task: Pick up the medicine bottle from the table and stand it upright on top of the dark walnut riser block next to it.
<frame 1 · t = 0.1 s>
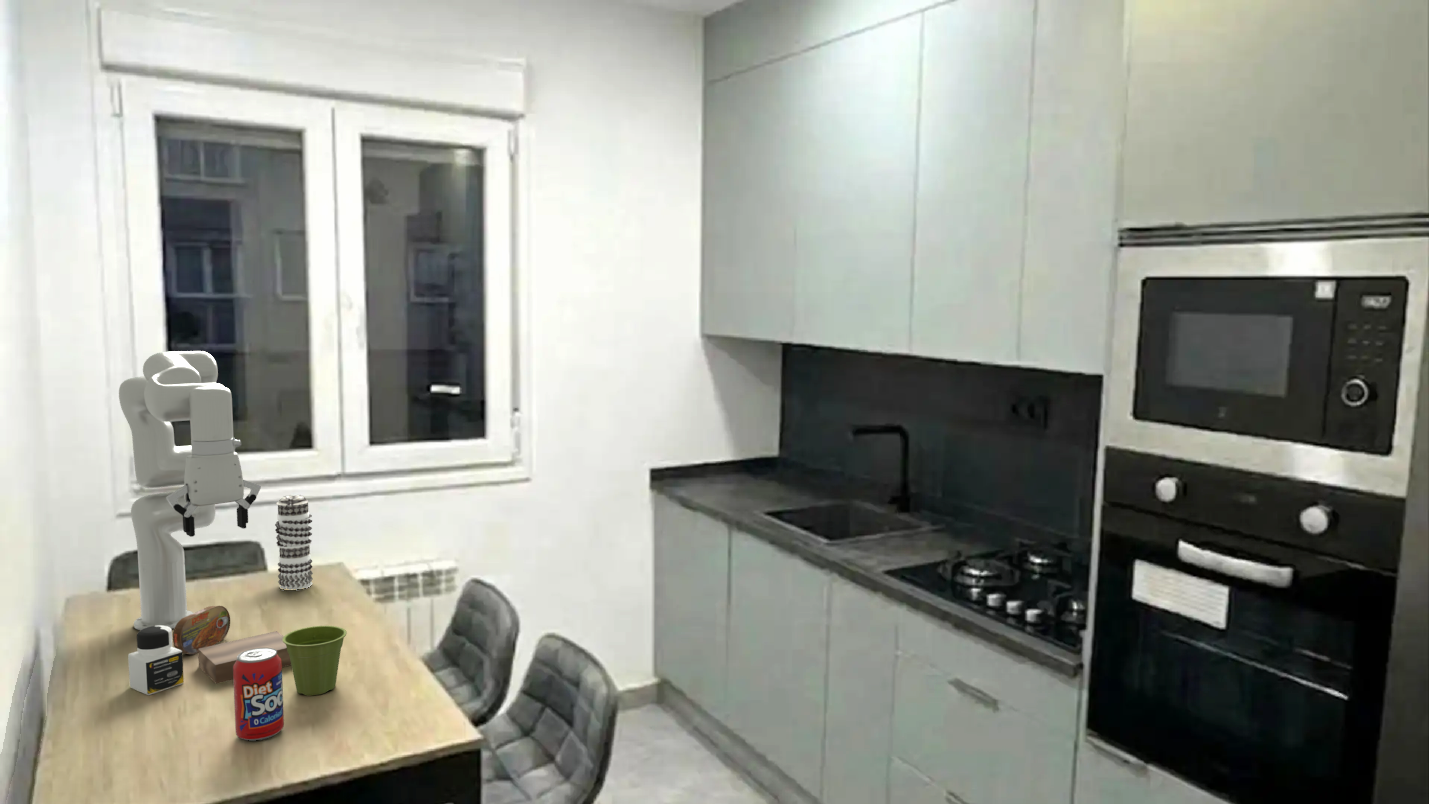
hand: (216, 531, 187), 31 cm above the table, tool pointing down, fingers open, 9 cm apart
tin: (202, 648, 208), on the table
plant pot: (316, 689, 186), on the table
medicine bottle: (157, 686, 187), on the table
soda can: (260, 735, 167), on the table
decorative candle: (296, 586, 253), on the table
walnut riser: (248, 665, 198), on the table
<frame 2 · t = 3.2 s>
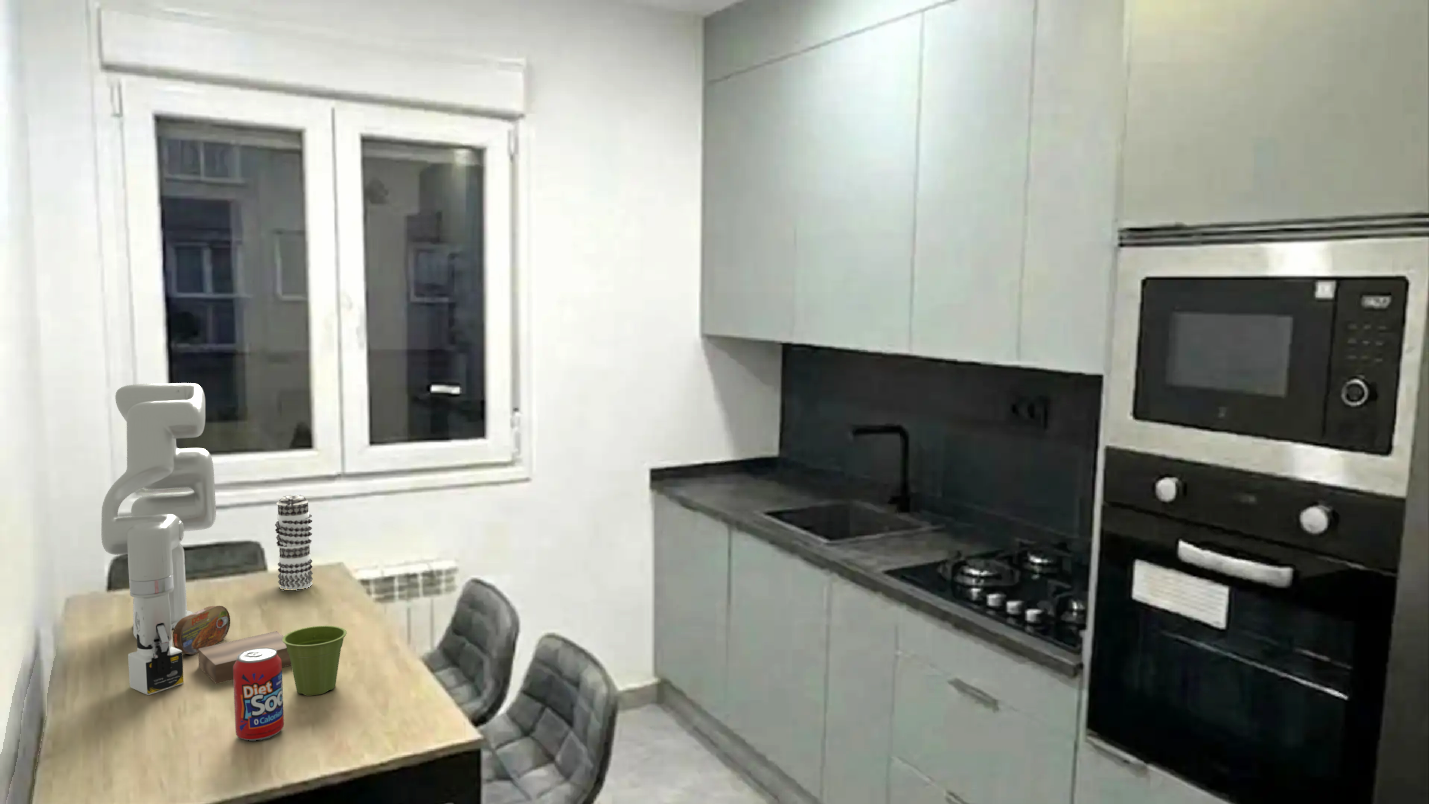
hand: (156, 668, 186), 4 cm above the table, tool pointing down, fingers closed on medicine bottle, 8 cm apart
medicine bottle: (157, 686, 187), on the table, touching gripper
everything else where it was.
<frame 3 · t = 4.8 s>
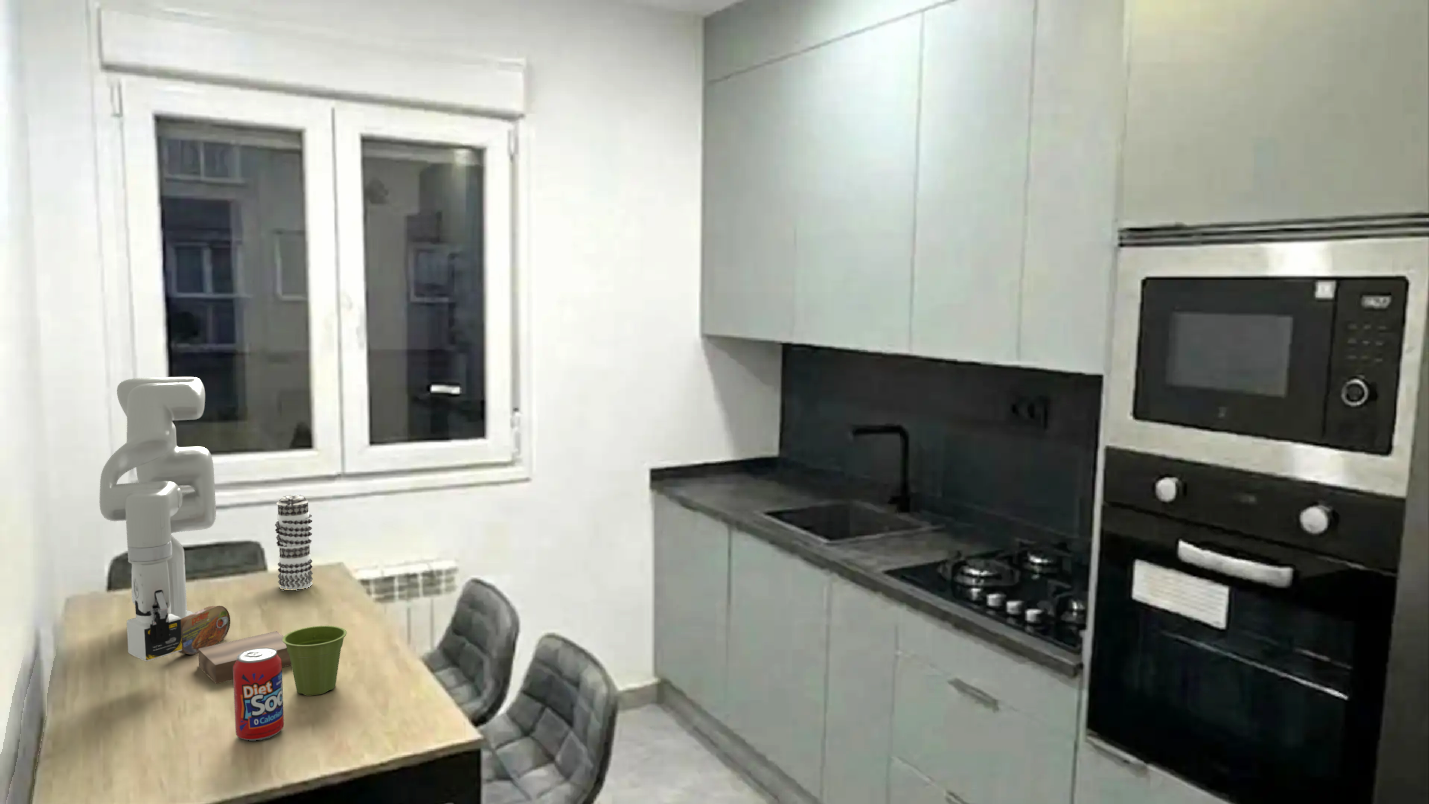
hand: (154, 635, 186), 10 cm above the table, tool pointing down, fingers closed on medicine bottle, 8 cm apart
medicine bottle: (155, 653, 187), point 7 cm above the table, touching gripper
everything else where it was.
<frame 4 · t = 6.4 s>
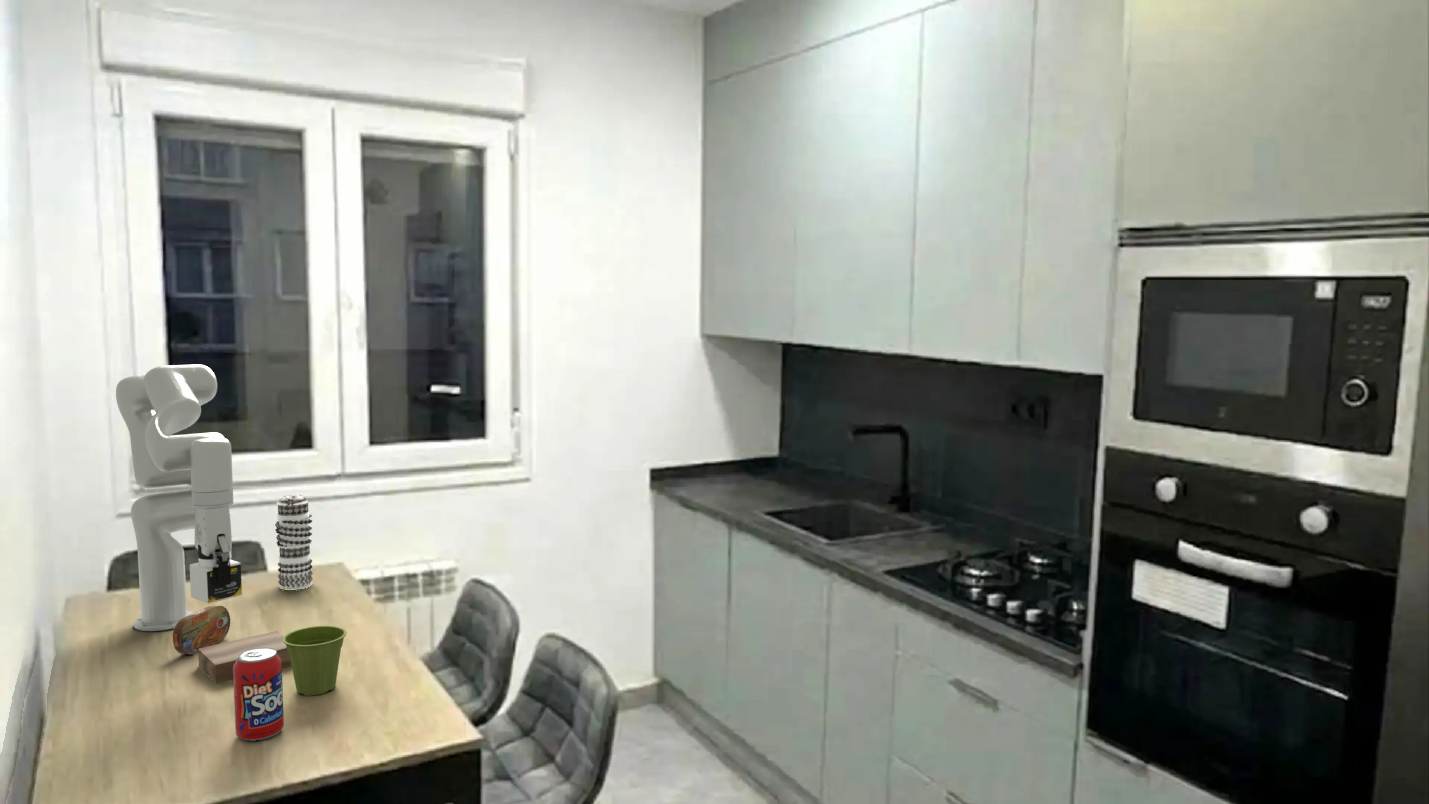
hand: (216, 579, 192), 20 cm above the table, tool pointing down, fingers closed on medicine bottle, 8 cm apart
medicine bottle: (216, 597, 193), point 16 cm above the table, touching gripper
everything else where it was.
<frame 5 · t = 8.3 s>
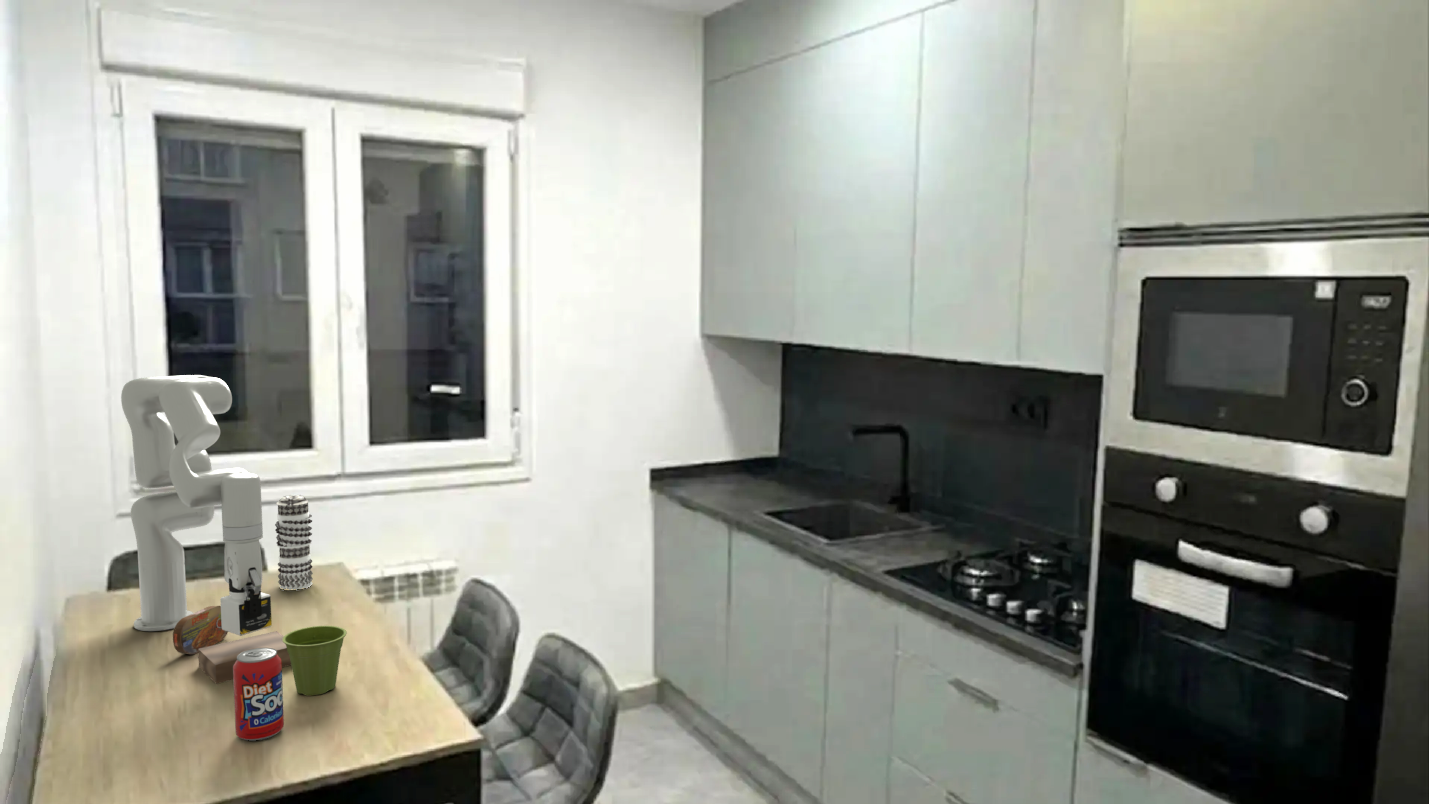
hand: (246, 612, 197), 12 cm above the table, tool pointing down, fingers closed on medicine bottle, 8 cm apart
medicine bottle: (246, 629, 197), point 8 cm above the table, touching gripper
everything else where it was.
when the fingers open (9 cm above the table, at t = 9.9 s): medicine bottle drops 1 cm, resting on walnut riser.
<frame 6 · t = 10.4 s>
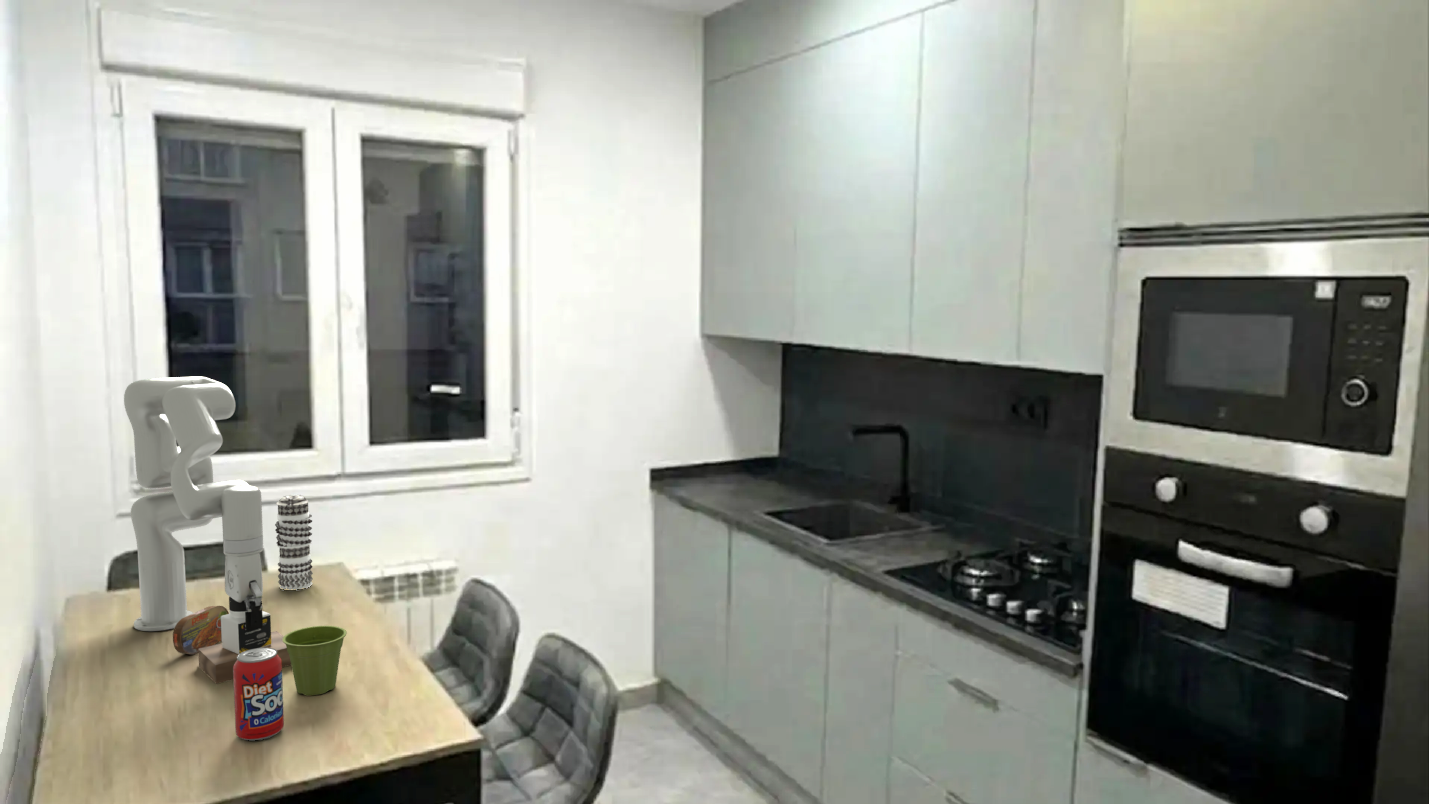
hand: (246, 623, 197), 9 cm above the table, tool pointing down, fingers open, 9 cm apart
medicine bottle: (246, 647, 198), point 4 cm above the table, touching walnut riser
everything else where it was.
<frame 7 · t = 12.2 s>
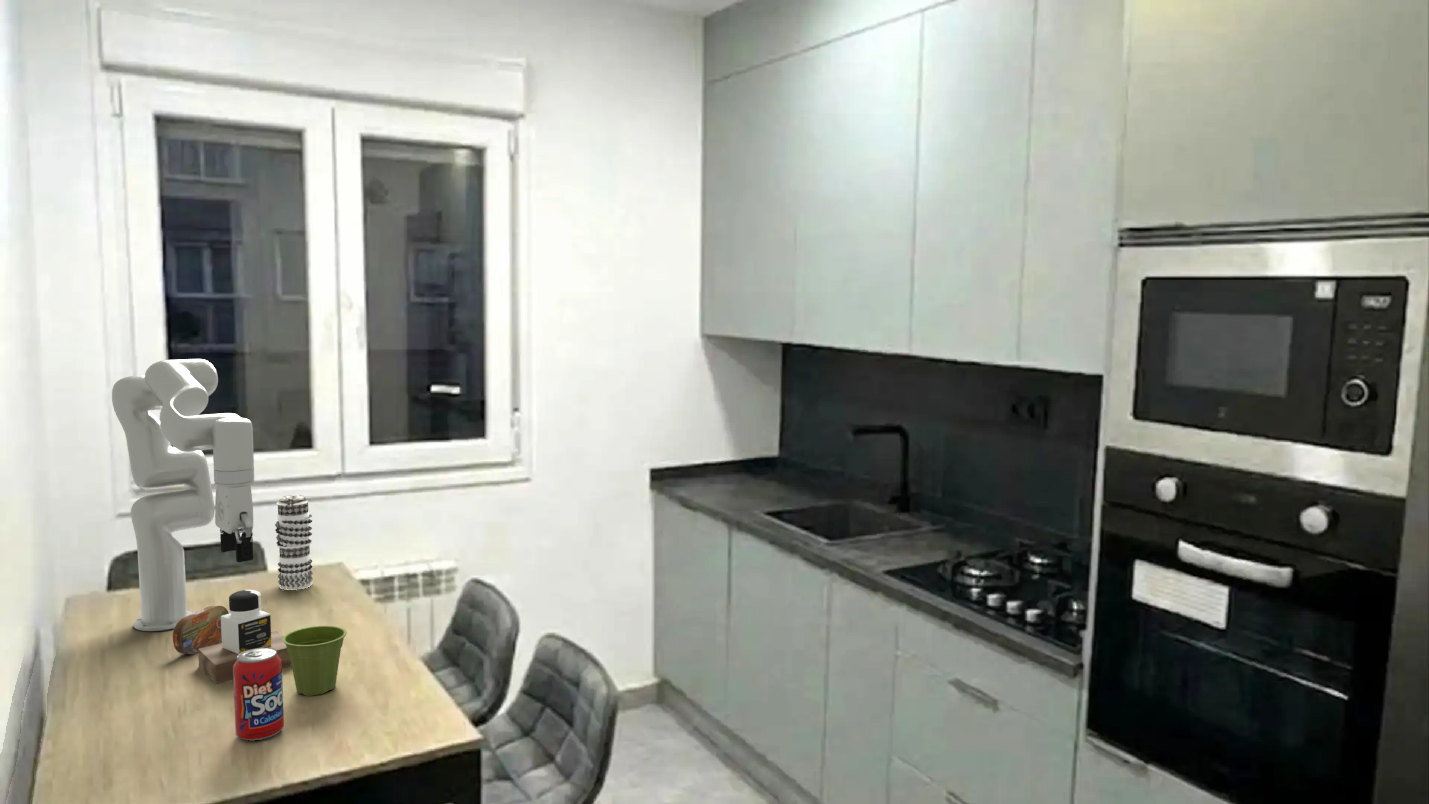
hand: (236, 555, 196), 24 cm above the table, tool pointing down, fingers open, 9 cm apart
nothing on the table moved.
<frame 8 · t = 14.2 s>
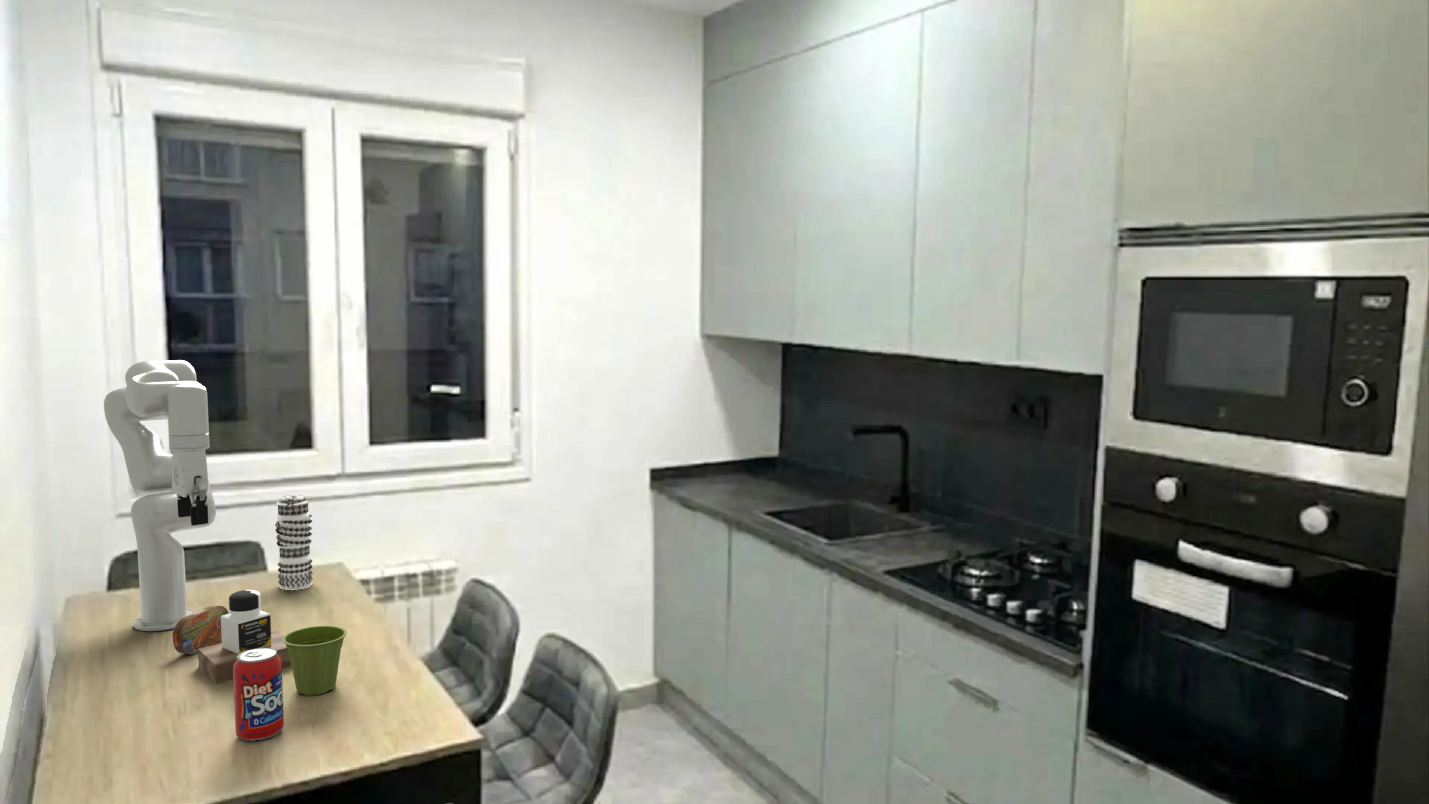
hand: (193, 520, 200), 30 cm above the table, tool pointing down, fingers open, 9 cm apart
nothing on the table moved.
at the end: medicine bottle inside the target area on the walnut riser (0.3 cm from its centre), point 3.8 cm above the walnut riser's base; medicine bottle tilted 0°; the gripper is holding nothing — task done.
